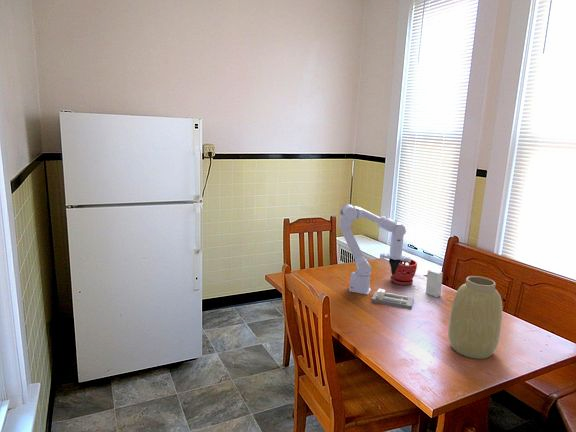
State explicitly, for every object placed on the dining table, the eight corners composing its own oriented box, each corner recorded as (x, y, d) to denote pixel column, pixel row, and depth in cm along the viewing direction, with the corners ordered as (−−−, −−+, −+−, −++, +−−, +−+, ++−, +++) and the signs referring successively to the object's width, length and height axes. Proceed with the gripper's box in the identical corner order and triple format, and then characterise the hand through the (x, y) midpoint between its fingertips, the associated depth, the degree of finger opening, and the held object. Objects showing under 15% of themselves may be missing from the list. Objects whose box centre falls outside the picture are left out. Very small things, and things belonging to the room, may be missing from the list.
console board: (371, 301, 191) (371, 296, 190) (375, 294, 200) (375, 289, 199) (411, 309, 184) (411, 304, 184) (413, 301, 193) (414, 296, 193)
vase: (503, 350, 152) (515, 282, 146) (485, 368, 140) (496, 294, 134) (458, 333, 164) (467, 269, 158) (437, 347, 152) (446, 279, 146)
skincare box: (441, 295, 201) (443, 272, 199) (436, 297, 198) (438, 273, 196) (429, 291, 206) (432, 268, 203) (424, 293, 203) (427, 270, 201)
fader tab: (377, 296, 192) (377, 291, 192) (378, 293, 196) (379, 288, 195) (383, 297, 191) (384, 292, 191) (384, 294, 195) (385, 289, 194)
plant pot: (389, 285, 212) (391, 263, 210) (389, 276, 225) (391, 255, 222) (415, 288, 209) (418, 266, 207) (413, 279, 222) (416, 258, 219)
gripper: (379, 247, 198) (377, 273, 201) (410, 251, 192) (407, 278, 195) (382, 243, 204) (379, 269, 207) (412, 247, 199) (409, 274, 202)
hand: (393, 273), depth 202 cm, fingers closed
